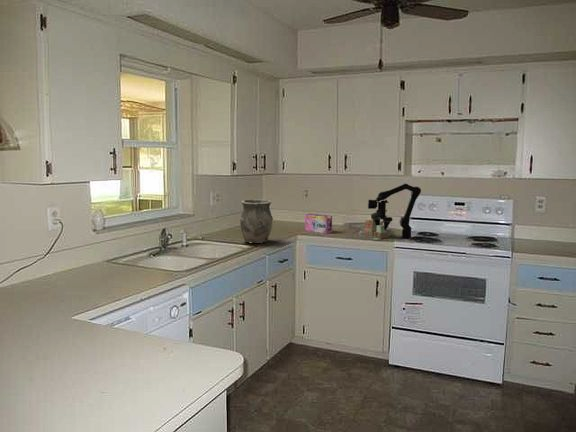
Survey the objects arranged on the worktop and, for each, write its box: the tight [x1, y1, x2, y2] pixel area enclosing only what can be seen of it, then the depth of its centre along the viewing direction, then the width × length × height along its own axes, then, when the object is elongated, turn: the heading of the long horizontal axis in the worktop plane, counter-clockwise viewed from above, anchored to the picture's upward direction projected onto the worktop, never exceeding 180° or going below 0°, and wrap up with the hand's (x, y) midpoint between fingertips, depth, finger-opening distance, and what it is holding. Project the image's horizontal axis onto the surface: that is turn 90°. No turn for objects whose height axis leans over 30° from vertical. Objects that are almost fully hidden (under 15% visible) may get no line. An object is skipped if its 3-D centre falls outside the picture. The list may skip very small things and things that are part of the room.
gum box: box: [304, 213, 333, 235], centre depth 385 cm, size 24×8×14 cm, turn 47°
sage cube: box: [376, 224, 386, 233], centre depth 358 cm, size 5×5×5 cm
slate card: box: [369, 237, 384, 242], centre depth 350 cm, size 7×7×1 cm
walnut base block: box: [373, 232, 390, 239], centre depth 359 cm, size 8×8×4 cm
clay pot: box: [239, 198, 274, 244], centre depth 338 cm, size 22×23×30 cm
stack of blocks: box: [364, 217, 384, 236], centre depth 377 cm, size 21×6×12 cm, turn 146°
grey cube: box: [386, 227, 392, 236], centre depth 370 cm, size 5×5×5 cm
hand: (381, 229), depth 358 cm, fingers open, 9 cm apart
